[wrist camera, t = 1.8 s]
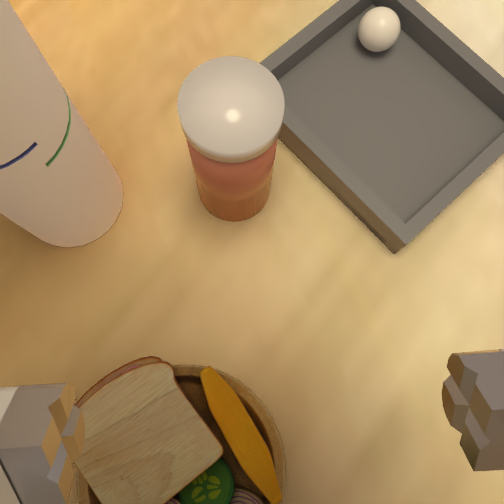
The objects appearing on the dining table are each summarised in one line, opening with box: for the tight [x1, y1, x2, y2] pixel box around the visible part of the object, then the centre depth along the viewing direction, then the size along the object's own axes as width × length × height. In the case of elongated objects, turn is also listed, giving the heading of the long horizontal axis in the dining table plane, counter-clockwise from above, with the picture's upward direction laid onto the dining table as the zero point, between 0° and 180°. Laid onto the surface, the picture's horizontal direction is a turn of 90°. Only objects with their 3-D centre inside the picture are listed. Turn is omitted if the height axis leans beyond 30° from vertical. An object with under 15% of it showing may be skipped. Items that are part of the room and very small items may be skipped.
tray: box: [259, 0, 504, 254], centre depth 35 cm, size 16×14×2 cm
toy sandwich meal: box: [73, 356, 286, 504], centre depth 28 cm, size 12×14×5 cm
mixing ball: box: [358, 7, 400, 52], centre depth 35 cm, size 3×3×3 cm
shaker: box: [177, 56, 285, 221], centre depth 29 cm, size 5×5×11 cm
